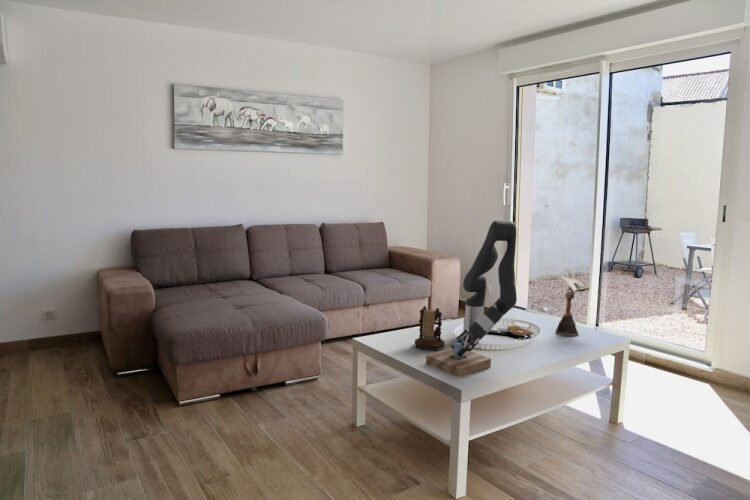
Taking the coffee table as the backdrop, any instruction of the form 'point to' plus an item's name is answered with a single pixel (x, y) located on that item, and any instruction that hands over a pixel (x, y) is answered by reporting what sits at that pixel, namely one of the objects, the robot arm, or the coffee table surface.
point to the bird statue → (567, 323)
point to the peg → (457, 348)
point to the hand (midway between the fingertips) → (455, 352)
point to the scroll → (430, 330)
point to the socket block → (458, 362)
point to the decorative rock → (519, 330)
